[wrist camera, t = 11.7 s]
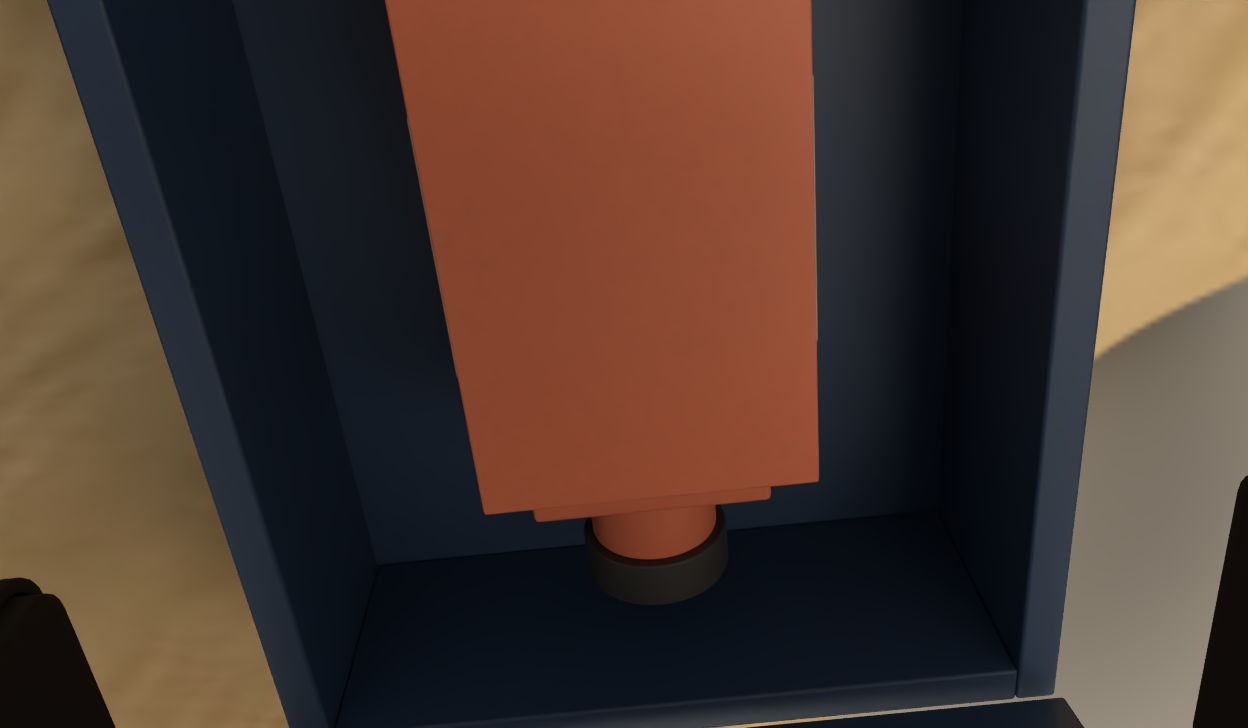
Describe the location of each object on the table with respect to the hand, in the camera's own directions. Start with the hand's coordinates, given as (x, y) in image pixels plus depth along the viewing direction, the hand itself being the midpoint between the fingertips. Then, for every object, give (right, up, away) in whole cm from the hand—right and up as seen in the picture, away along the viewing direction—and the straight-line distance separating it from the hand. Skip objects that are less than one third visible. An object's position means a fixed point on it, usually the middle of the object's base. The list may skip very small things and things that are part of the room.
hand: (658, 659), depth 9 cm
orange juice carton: (0, +6, +14) cm, 15 cm away
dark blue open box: (0, +6, +15) cm, 16 cm away
